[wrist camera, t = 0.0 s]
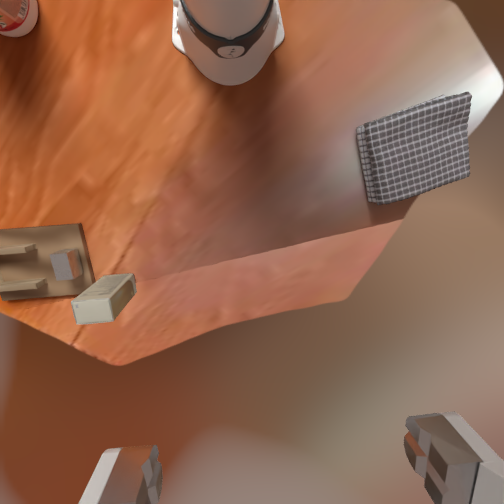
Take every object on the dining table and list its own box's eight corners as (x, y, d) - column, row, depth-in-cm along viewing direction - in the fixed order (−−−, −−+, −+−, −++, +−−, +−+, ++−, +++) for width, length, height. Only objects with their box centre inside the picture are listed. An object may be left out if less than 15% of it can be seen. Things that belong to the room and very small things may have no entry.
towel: (349, 127, 51) (368, 119, 44) (444, 94, 51) (480, 80, 43) (365, 205, 55) (386, 209, 48) (453, 175, 55) (488, 175, 47)
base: (-16, 230, 52) (-37, 235, 48) (81, 223, 53) (68, 227, 49) (7, 298, 56) (-11, 307, 52) (97, 290, 56) (86, 299, 52)
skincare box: (107, 294, 57) (73, 325, 45) (103, 274, 56) (67, 301, 44) (138, 292, 57) (113, 322, 45) (135, 272, 56) (108, 298, 44)
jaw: (61, 249, 52) (49, 254, 49) (77, 248, 52) (66, 253, 49) (67, 274, 54) (56, 280, 50) (83, 272, 54) (73, 279, 50)
